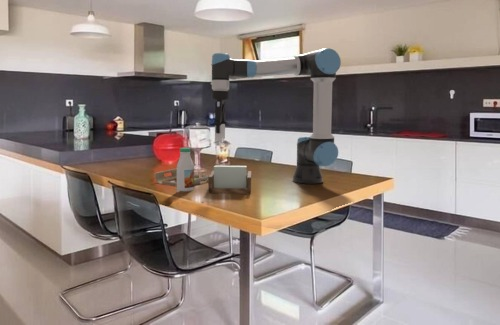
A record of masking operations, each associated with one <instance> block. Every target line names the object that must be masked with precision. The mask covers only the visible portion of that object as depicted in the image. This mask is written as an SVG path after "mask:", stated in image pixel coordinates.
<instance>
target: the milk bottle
mask: <svg viewBox="0 0 500 325" xmlns="http://www.w3.org/2000/svg"><path fill="white" fill-rule="evenodd" d="M191 153H192V152H191V147H179V154H180V155H179V159H178V161H177V165H176V169H177V186H176V192H177V193H180V192H192V191H194V190H195V185H194V175H195V165H194V164H195V163H194V161H193V160H192V158H191Z"/></svg>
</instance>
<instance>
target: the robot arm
mask: <svg viewBox="0 0 500 325" xmlns="http://www.w3.org/2000/svg"><path fill="white" fill-rule="evenodd" d="M211 57H212V58H211V64H210V65H211V82H210V85H211V100H216V101H215V103H214V104H215V105H214V107H215V109H214V111H215V112H214V122H213V123H212V126H214V141H215V142H222V139H225V138H226V125H227V120H226V102H225V101H226V100H227V101H228V100H230V92H229V90H230V80H239V79H240V80H241V79H247V78H251V79H252V78H261V77H272V76H283V75H294V76H310V81H312V82H313V98H312V99H313V100H312V101H313V104H312V106H313V107H312V110H313V111H312V114H313V115H312V134H311V135H310V136H300V137H298V138H297V142H296V166H295V170H294V172H293V175H292V182H295V183H297V184H298V183H299V184H308V185H309V184H310V185H312V184H313V185H315V184H321V183H323V175H322V174H323V173H322V172H321V171H322V170H321V167H327V166H330V165H333V163H335V161H337V159H338V157H339V148H338V146H337V145H336V143H335V136H334V135H333V134H332V117H333V116H332V114H333V113H332V112H333V108H332V107H333V82H334V81H335V80H336V79H337V72H338V71H339V69H340V68H341V64H342V63H341V62H342V61H341V57H340V55H339V53H338V52H337V51H336V50H335V49H333V48H328V47H327V48H325V47H324V48H320V49H318V50H313V51H310V52H307V53H303V54H299V55H298V54H297V55H294V56H293V57H289V58H288V57H287V58H277V59H276V58H275V59H262V60H252V59H235V58H234V59H233V58H231V57H230V54H229V53H225V52H216V53H213V54H212V55H211Z"/></svg>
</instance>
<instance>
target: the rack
mask: <svg viewBox="0 0 500 325" xmlns="http://www.w3.org/2000/svg"><path fill="white" fill-rule="evenodd" d="M208 176H209V177H208V178H209V181H208V194H236V195H237V194H238V195H239V194H240V195H243V194H246V195H251V194H252V171H251V170H247V188H214V170H211V173H210V174H209V175H208Z"/></svg>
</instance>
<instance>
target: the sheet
mask: <svg viewBox="0 0 500 325" xmlns="http://www.w3.org/2000/svg"><path fill="white" fill-rule="evenodd" d="M213 171H214V188H246V176H248V170H247V165H217V164H216V165H214V166H213Z"/></svg>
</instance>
